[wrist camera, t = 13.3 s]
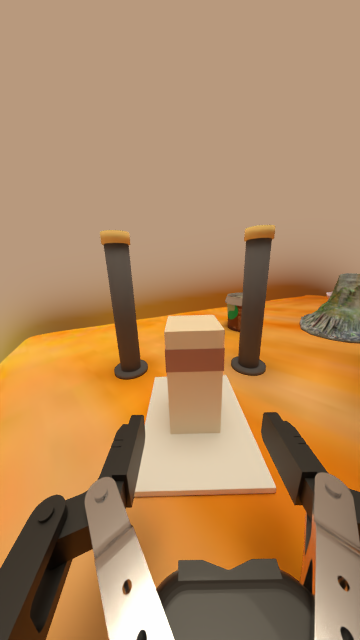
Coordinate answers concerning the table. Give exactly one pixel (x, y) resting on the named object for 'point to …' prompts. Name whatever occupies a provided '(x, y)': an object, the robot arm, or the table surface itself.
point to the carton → (194, 373)
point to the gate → (250, 315)
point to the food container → (234, 310)
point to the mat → (200, 453)
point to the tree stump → (338, 313)
